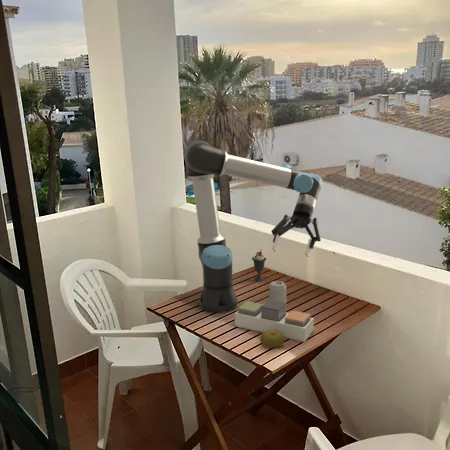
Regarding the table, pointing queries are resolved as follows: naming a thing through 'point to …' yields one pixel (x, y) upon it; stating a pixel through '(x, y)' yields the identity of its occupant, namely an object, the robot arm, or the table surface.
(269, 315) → the key charcoal
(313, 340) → the table surface
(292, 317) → the key terracotta
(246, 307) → the key olive
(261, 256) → the sundae
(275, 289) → the beverage can
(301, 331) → the light grey piece
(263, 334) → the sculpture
